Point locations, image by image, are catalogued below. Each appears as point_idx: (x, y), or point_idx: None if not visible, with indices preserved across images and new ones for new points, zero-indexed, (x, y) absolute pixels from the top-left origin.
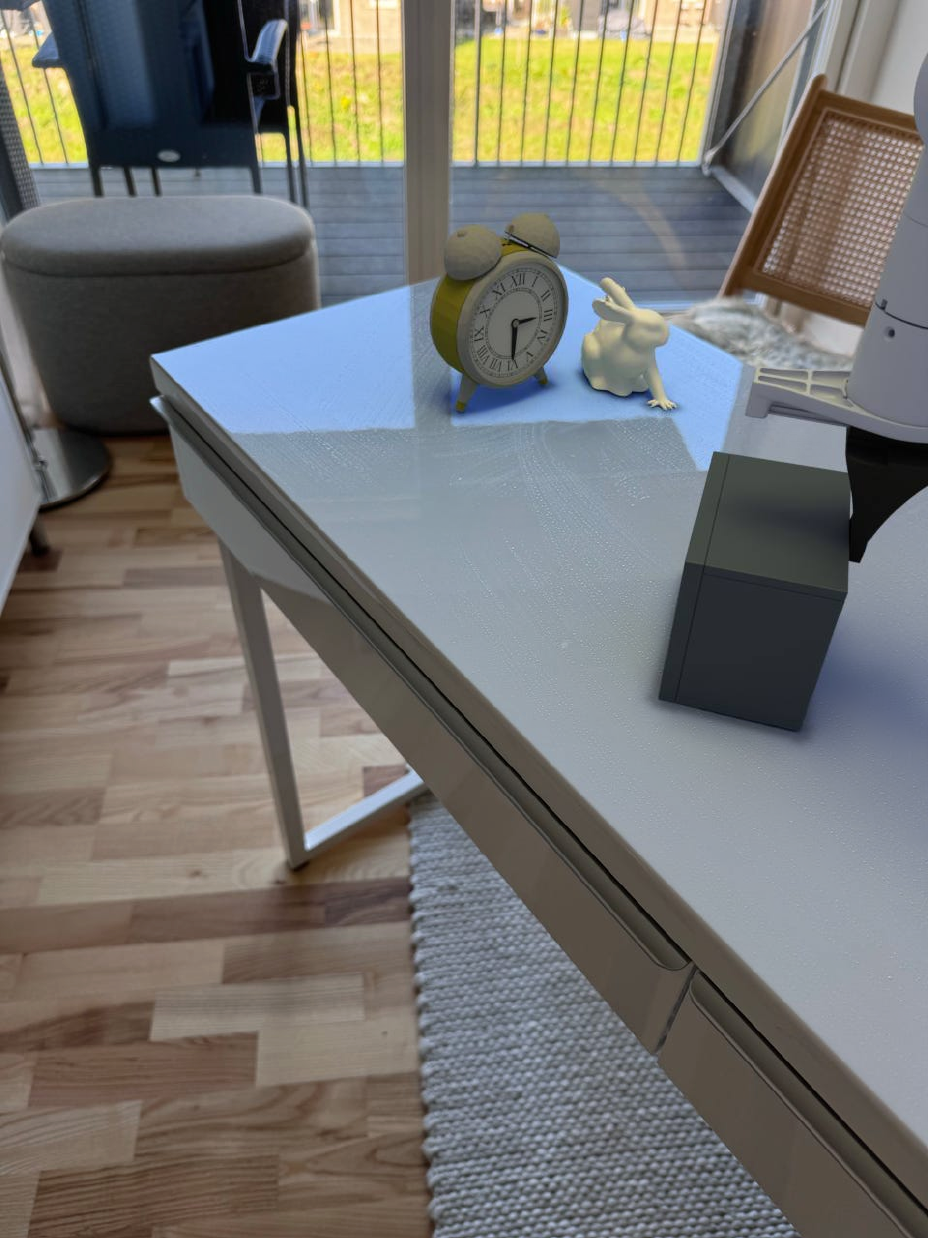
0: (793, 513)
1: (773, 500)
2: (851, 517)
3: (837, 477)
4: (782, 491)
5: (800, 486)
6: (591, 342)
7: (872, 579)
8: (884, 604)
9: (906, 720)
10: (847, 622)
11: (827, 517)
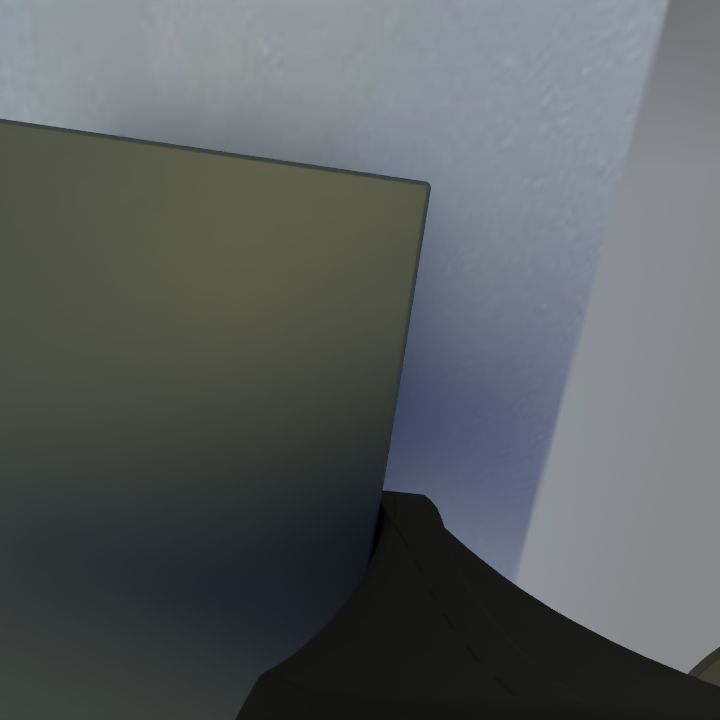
0: (166, 552)
1: (88, 480)
2: (383, 521)
3: (363, 243)
4: (121, 408)
5: (198, 347)
6: None
7: (549, 38)
8: (555, 142)
9: (517, 496)
10: (458, 232)
11: (291, 553)
